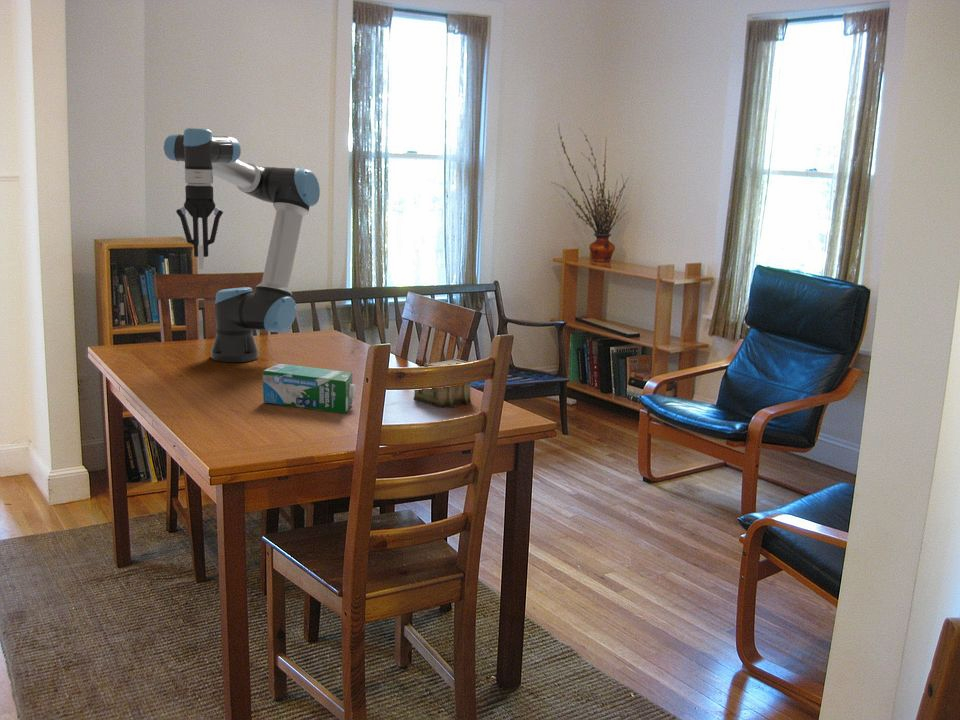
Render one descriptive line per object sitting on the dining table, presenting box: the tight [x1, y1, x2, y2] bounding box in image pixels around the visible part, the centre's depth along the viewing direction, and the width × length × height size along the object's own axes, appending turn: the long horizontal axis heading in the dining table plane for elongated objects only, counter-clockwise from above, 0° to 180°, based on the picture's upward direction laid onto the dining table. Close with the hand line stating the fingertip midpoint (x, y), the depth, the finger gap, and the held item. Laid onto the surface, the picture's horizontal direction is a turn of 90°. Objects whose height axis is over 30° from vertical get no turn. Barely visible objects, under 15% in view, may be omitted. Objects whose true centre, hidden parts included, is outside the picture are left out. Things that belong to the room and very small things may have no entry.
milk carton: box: [262, 362, 357, 414], centre depth 260 cm, size 9×9×25 cm
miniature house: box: [413, 358, 472, 409], centre depth 271 cm, size 15×14×11 cm
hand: (201, 268), depth 272 cm, fingers closed
